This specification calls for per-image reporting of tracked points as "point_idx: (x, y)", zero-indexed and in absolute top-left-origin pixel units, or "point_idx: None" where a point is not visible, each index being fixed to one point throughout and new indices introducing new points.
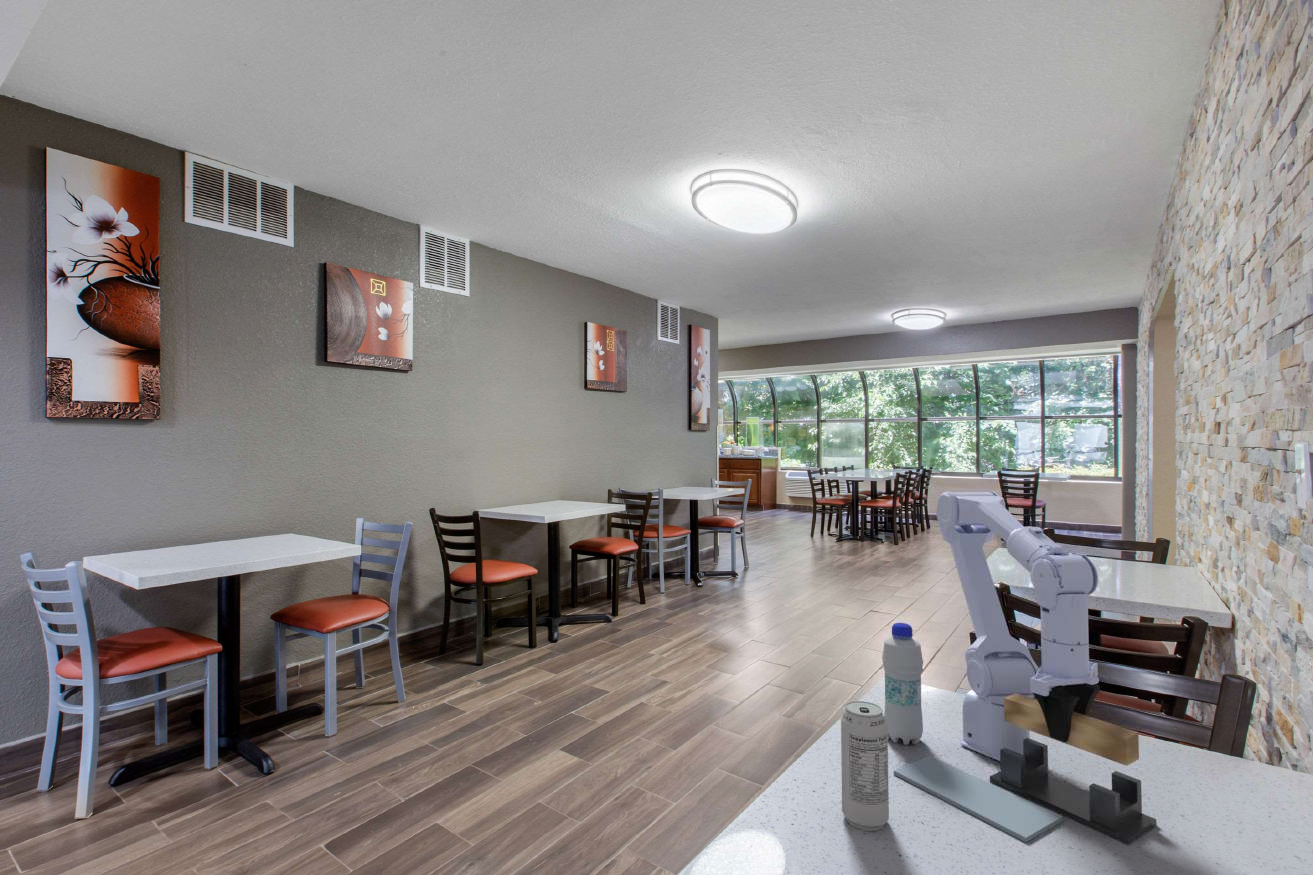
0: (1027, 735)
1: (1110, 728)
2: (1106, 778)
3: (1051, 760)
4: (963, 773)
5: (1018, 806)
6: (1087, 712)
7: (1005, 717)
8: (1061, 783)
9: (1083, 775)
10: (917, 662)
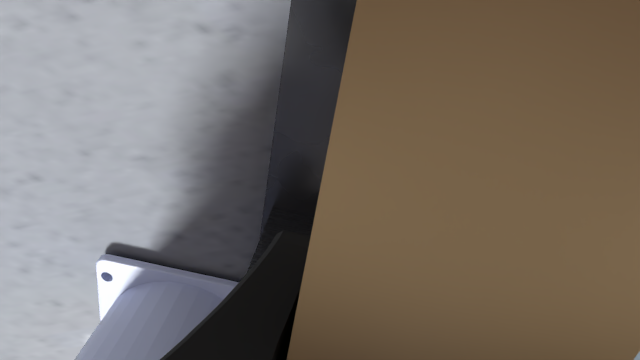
0: (143, 344)
1: (595, 36)
2: (60, 49)
3: (104, 223)
4: None
5: None
6: (210, 346)
7: None
8: (300, 161)
9: (118, 119)
10: None
